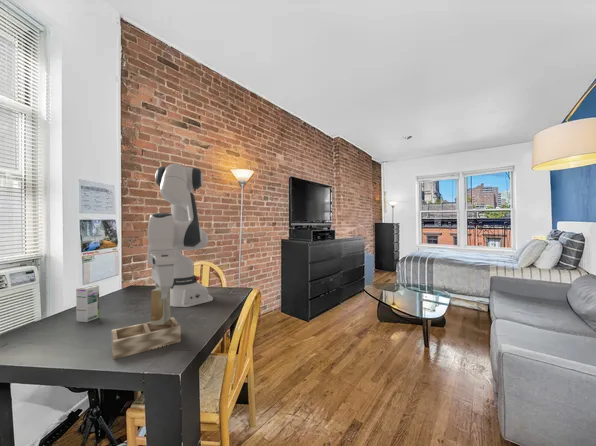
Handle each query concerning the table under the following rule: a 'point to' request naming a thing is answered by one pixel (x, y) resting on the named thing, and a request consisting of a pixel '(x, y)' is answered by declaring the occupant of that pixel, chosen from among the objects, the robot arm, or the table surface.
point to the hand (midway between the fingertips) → (161, 295)
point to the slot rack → (144, 337)
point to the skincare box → (159, 307)
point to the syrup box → (87, 303)
